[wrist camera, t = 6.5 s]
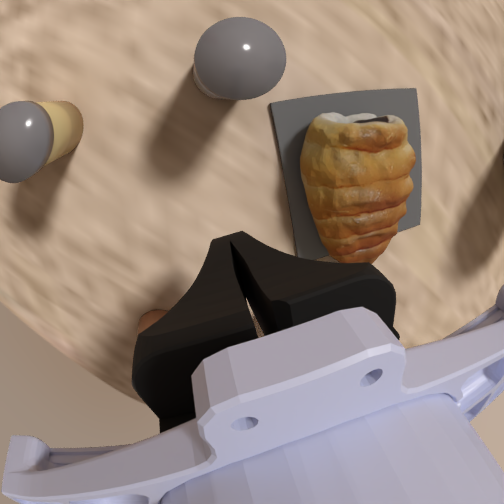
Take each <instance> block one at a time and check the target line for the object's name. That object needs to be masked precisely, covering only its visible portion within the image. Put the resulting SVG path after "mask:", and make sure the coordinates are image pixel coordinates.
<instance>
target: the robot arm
mask: <svg viewBox="0 0 504 504" xmlns="http://www.w3.org/2000/svg"><path fill="white" fill-rule="evenodd" d="M246 298H247V300H248V302H249V304H250V306H251V309H252V311H253V313H254V315H255V317H256V319H257V321H258V323H259V325H260V327H261V329H262V331H263V333H264V335H265V336H264V337H260V338H258V336H257V332H256V329H255V326H254V323H253V320H252V317H251V314H250V311H249V308H248V305H247V300H246ZM395 306H396V292H395V289H394V287H393V284H392V283H391V282H390V281H389V280H388V279H387V278H386V277H385V276H384V275H383V274H382V273H381V272H380V271H379V270H378V269H376V268H375V267H374V266H373V265H372V264H370V263H369V262H362V263H333V262H322V261H315V260H310V259H304V258H300V257H296V256H293V255H290V254H286V253H284V252H281V251H278V250H276V249H274V248H271V247H269V246H267V245H265V244H263V243H262V242H260V241H258V240H256V239H255V238H253V237H252V236H250V235H248V234H247V233H245V232H243V231H240V232H236V233H233V234H230V235H226V236H223V237H220V238H216V239H213V240H212V241H211V243H210V248H209V251H208V254H207V257H206V259H205V262H204V264H203V266H202V268H201V270H200V272H199V274H198V276H197V278H196V280H195V281H194V283H193V284H192V286H191V287H190V289H189V290H188V291H187V293H186V294H185V295H184V296H183V297H182V298H181V299H180V300H179V302H178V303H177V304H176V305H175V306H174V307H173V308H172V309H171V310H170V311H169V312H167V313H166V314H165V315H164V316H163V317H162V318H160V319H159V320H158V321H157V322H155V323H154V324H152V325H151V326H149V327H148V328H147V329H145V330H144V331H142V332H141V333H139V334H138V337H137V341H136V345H135V351H134V357H133V369H132V382H133V387H134V388H135V390H136V392H137V393H138V395H139V396H140V397H141V398H142V400H143V401H144V402H145V403H146V404H147V405H148V406H149V408H151V410H152V411H153V412H154V413H155V414H156V415H157V417H158V418H159V422H160V434H158V435H155V436H153V437H150V438H147V439H145V440H142V441H139V442H137V443H134V444H128V445H119V446H106V447H90V448H50V447H49V446H48V445H47V444H45V443H44V442H43V441H42V440H40V439H38V438H36V437H34V436H25V435H12V436H11V440H10V444H9V449H8V453H7V459H6V464H5V469H4V476H3V482H2V489H1V492H2V493H3V494H4V495H5V496H7V497H9V498H10V499H12V500H14V501H16V502H18V503H20V504H504V472H503V471H502V469H501V468H500V466H499V465H498V463H497V461H496V460H495V458H494V457H493V455H492V454H491V453H490V451H489V449H488V448H487V447H486V445H485V444H484V442H483V441H482V439H481V438H480V436H479V435H478V434H477V432H476V431H475V429H474V428H473V427H472V425H471V424H470V421H471V420H472V419H474V418H475V417H476V416H477V415H478V414H479V413H480V412H481V411H483V410H484V409H485V408H486V407H487V406H488V405H489V404H490V403H491V402H492V401H493V400H494V399H495V398H496V397H498V396H499V395H500V394H501V393H502V392H503V391H504V285H503V286H502V287H501V289H500V290H499V293H498V295H497V298H496V304H495V305H494V306H492V307H491V308H489V309H488V310H487V311H485V312H484V313H482V314H481V315H479V316H478V317H476V318H475V319H473V320H472V321H470V322H469V323H467V324H466V325H464V326H463V327H461V328H460V329H458V330H456V331H455V332H453V333H452V334H450V335H448V336H447V337H445V338H443V339H442V340H438V341H435V342H431V343H427V344H423V345H419V346H415V347H411V348H407V349H405V348H404V347H403V345H402V344H401V343H400V342H399V338H400V336H399V334H398V332H397V331H396V330H395V329H394V328H393V322H394V314H395Z"/></svg>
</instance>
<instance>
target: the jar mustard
mask: <svg viewBox="0 0 504 504" xmlns="http://www.w3.org/2000/svg"><path fill="white" fill-rule="evenodd" d="M82 133H83V118H82V115H81V113H80V111H79V110H78V108H77V107H76V106H75V105H73V104H72V103H70V102H66V101H51V102H33V101H18V102H12V103H9V104H7V105H5V106H3V107H2V108H1V109H0V179H1V180H2V181H5V182H8V183H18V182H22V181H24V180H26V179H27V178H29V177H31V176H32V175H34V174H36V173H37V172H38V171H40V170H41V169H42V168H43V166H45V165H47V164H49V163H51V162H52V161H54V160H56V159H58V158H60V157H62V156H64V155H66V154H67V153H69V152H71V151H72V150H73V149H74V148H75V147H76V146H77V144H78V143H79V141H80V139H81V137H82Z"/></svg>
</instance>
